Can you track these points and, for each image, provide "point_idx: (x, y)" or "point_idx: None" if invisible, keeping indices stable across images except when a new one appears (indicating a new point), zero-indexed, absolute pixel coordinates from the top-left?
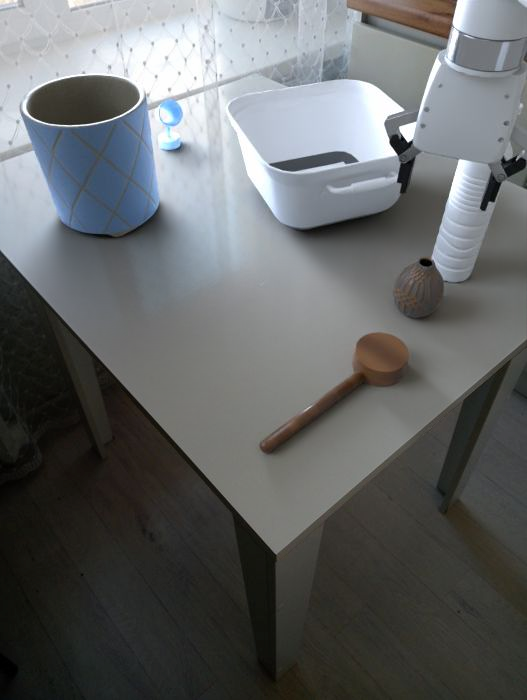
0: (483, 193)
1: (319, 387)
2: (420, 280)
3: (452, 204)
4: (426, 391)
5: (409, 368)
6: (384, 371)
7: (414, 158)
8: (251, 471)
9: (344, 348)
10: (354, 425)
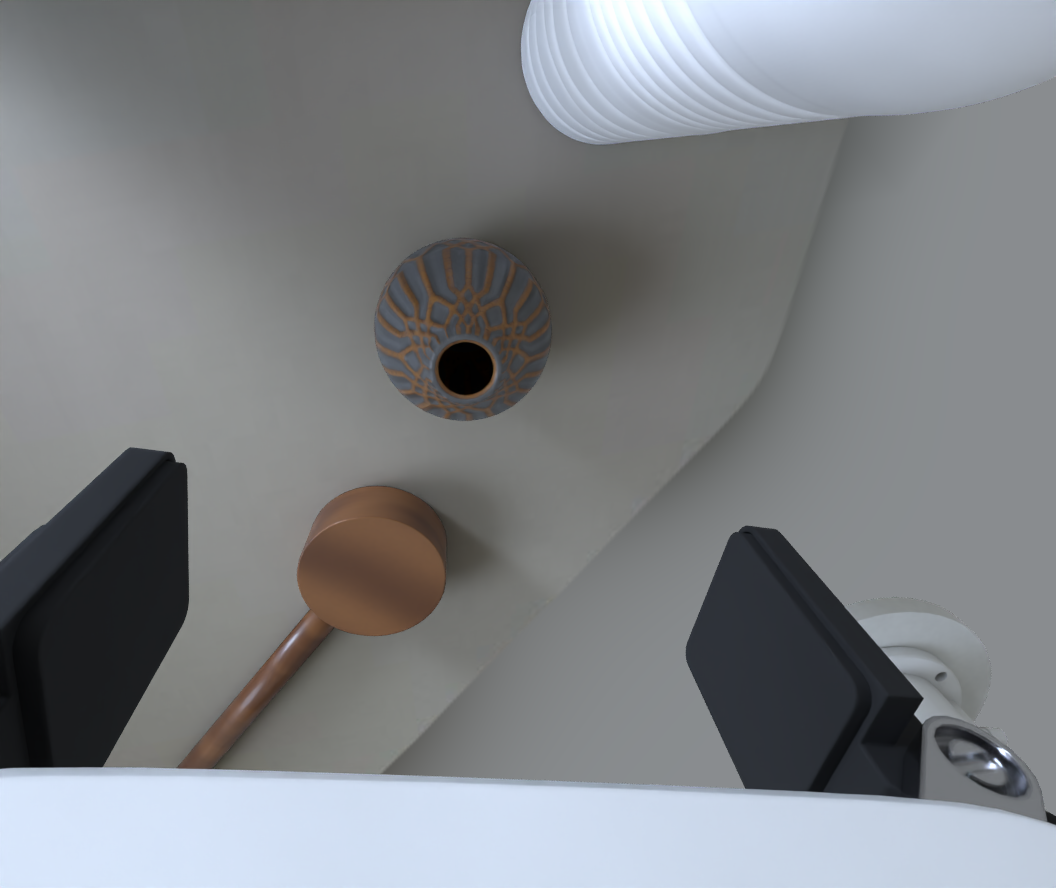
0: (745, 553)
1: (248, 626)
2: (454, 409)
3: (597, 37)
4: (500, 587)
5: (458, 534)
6: (387, 634)
7: (42, 703)
8: None
9: (278, 506)
10: (350, 691)
